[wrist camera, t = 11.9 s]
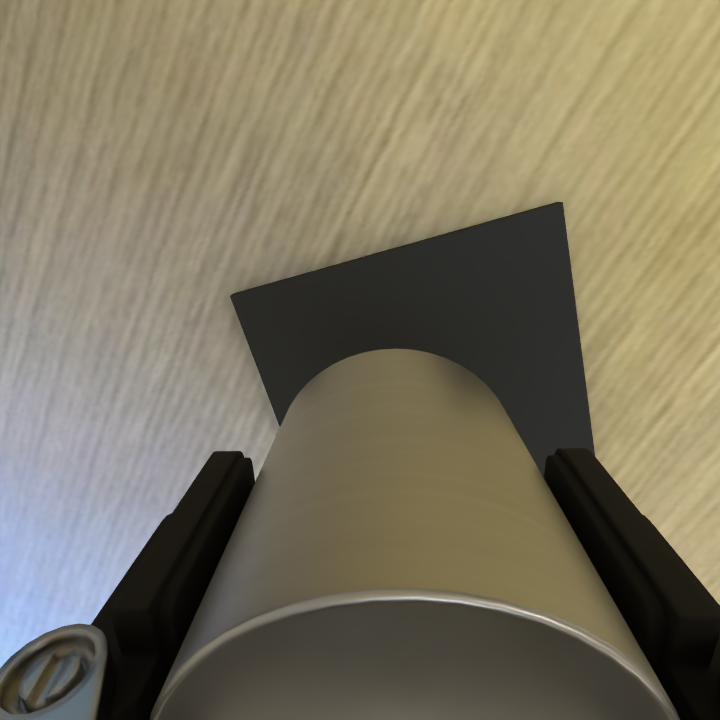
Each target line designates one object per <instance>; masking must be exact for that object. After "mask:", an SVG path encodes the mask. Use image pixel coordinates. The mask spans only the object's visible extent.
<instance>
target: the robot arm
mask: <svg viewBox="0 0 720 720" xmlns="http://www.w3.org/2000/svg"><path fill="white" fill-rule="evenodd" d="M544 480H545V481H546V483H547V485H548V487H549V488H550V490H551V492H552V494H553V495H554V497H555V499H556V501H557V502H558V504H559V506H560V508H561V509H562V511H563V513H564V515H565V516H566V518H567V520H568V522H569V523H570V525H571V527H572V529H573V530H574V532H575V534H576V536H577V537H578V539H579V541H580V543H581V544H582V546H583V548H584V550H585V551H586V553H587V555H588V557H589V559H590V560H591V562H592V564H593V566H594V567H595V569H596V571H597V573H598V574H599V576H600V578H601V580H602V581H603V583H604V585H605V587H606V588H607V590H608V592H609V594H610V595H611V597H612V599H613V601H614V602H615V604H616V606H617V608H618V609H619V611H620V613H621V615H622V616H623V618H624V620H625V622H626V623H627V625H628V627H629V629H630V630H631V632H632V634H633V636H634V637H635V639H636V641H637V643H638V645H639V646H640V648H641V650H642V652H643V653H644V655H645V657H646V659H647V660H648V662H649V664H650V666H651V667H652V669H653V671H654V673H655V674H656V676H657V678H658V680H659V681H660V683H661V685H662V687H663V688H664V690H665V692H666V694H667V695H668V697H669V699H670V701H671V702H672V704H673V706H674V708H675V709H676V711H677V713H678V716H679V718H680V720H720V605H719V604H718V603H717V602H716V600H715V599H714V598H713V597H712V596H711V594H710V593H709V592H708V591H707V590H706V588H705V587H704V586H703V585H702V583H701V582H700V581H699V580H698V579H697V577H696V576H695V575H694V574H693V572H692V571H691V570H690V569H689V568H688V566H687V565H686V564H685V563H684V562H683V560H682V559H681V558H680V557H679V555H678V554H677V553H676V552H675V551H674V549H673V548H672V547H671V546H670V545H669V543H668V542H667V541H666V540H665V538H664V537H663V536H662V535H661V534H660V532H659V531H658V530H657V529H656V527H655V526H654V525H653V524H652V523H651V521H650V520H649V519H647V518H646V517H645V516H644V515H642V514H641V513H640V512H639V510H638V509H637V508H636V507H635V505H634V504H633V503H632V502H631V500H630V499H629V498H628V497H627V496H626V494H625V493H624V492H623V491H622V489H621V488H620V487H619V486H618V484H617V483H616V482H615V481H614V480H613V478H612V477H611V476H610V475H609V473H608V472H607V471H606V470H605V468H604V467H603V466H602V465H601V464H600V462H599V461H598V460H597V459H596V457H595V456H594V455H593V454H592V452H591V451H590V450H589V449H587V448H558V449H557V450H556V451H555V454H554V455H549V456H547V458H546V462H545V471H544ZM254 484H255V478H254V471H253V464H252V460H251V459H250V458H244V455H243V453H242V452H241V451H216V452H213V453H212V455H211V456H210V458H209V459H208V461H207V462H206V464H205V465H204V467H203V468H202V470H201V471H200V472H199V474H198V475H197V477H196V478H195V480H194V481H193V483H192V484H191V486H190V487H189V489H188V490H187V492H186V493H185V495H184V496H183V498H182V499H181V501H180V502H179V504H178V505H177V507H176V508H175V510H174V511H173V513H172V514H169V515H167V516H166V517H165V518H164V519H163V520H162V522H161V523H160V525H159V526H158V528H157V529H156V530H155V532H154V533H153V535H152V536H151V538H150V539H149V541H148V542H147V544H146V545H145V546H144V548H143V549H142V551H141V552H140V554H139V555H138V557H137V558H136V560H135V561H134V563H133V564H132V565H131V567H130V568H129V570H128V571H127V573H126V574H125V576H124V577H123V579H122V580H121V581H120V583H119V584H118V586H117V587H116V589H115V590H114V592H113V593H112V595H111V596H110V598H109V599H108V600H107V602H106V603H105V605H104V606H103V608H102V609H101V611H100V612H99V614H98V615H97V616H96V618H95V619H94V621H93V622H92V624H91V625H87V624H74V625H68V626H63V627H60V628H57V629H55V630H52V631H50V632H47V633H45V634H43V635H41V636H40V637H38V638H36V639H34V640H33V641H31V642H29V643H28V644H26V645H25V646H24V647H22V648H21V649H20V650H19V651H18V652H16V653H15V654H14V655H13V656H11V657H10V658H9V659H8V660H7V662H6V663H5V664H4V665H3V666H2V667H1V668H0V720H150V716H151V712H152V710H153V708H154V705H155V703H156V701H157V699H158V697H159V694H160V692H161V690H162V688H163V685H164V683H165V681H166V679H167V677H168V674H169V672H170V670H171V668H172V666H173V663H174V661H175V659H176V657H177V654H178V652H179V650H180V648H181V646H182V643H183V641H184V639H185V637H186V635H187V632H188V630H189V628H190V626H191V623H192V621H193V619H194V617H195V615H196V612H197V610H198V608H199V606H200V604H201V601H202V599H203V597H204V595H205V592H206V590H207V588H208V586H209V584H210V581H211V579H212V577H213V575H214V573H215V570H216V568H217V566H218V564H219V561H220V559H221V557H222V555H223V553H224V550H225V548H226V546H227V544H228V542H229V539H230V537H231V535H232V533H233V530H234V528H235V526H236V524H237V522H238V519H239V517H240V515H241V513H242V511H243V508H244V506H245V504H246V502H247V499H248V497H249V495H250V493H251V491H252V488H253V486H254Z"/></svg>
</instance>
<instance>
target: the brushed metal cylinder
mask: <svg viewBox="0 0 720 720" xmlns="http://www.w3.org/2000/svg"><path fill="white" fill-rule="evenodd" d="M150 720H680V718H679V716H678V713H677V711H676V709H675V708H674V706H673V704H672V702H671V701H670V699H669V697H668V695H667V694H666V692H665V690H664V688H663V687H662V685H661V683H660V681H659V680H658V678H657V676H656V674H655V673H654V671H653V669H652V667H651V666H650V664H649V662H648V660H647V659H646V657H645V655H644V653H643V652H642V650H641V648H640V646H639V645H638V643H637V641H636V639H635V637H634V636H633V634H632V632H631V630H630V629H629V627H628V625H627V623H626V622H625V620H624V618H623V616H622V615H621V613H620V611H619V609H618V608H617V606H616V604H615V602H614V601H613V599H612V597H611V595H610V594H609V592H608V590H607V588H606V587H605V585H604V583H603V581H602V580H601V578H600V576H599V574H598V573H597V571H596V569H595V567H594V566H593V564H592V562H591V560H590V559H589V557H588V555H587V553H586V551H585V550H584V548H583V546H582V544H581V543H580V541H579V539H578V537H577V536H576V534H575V532H574V530H573V529H572V527H571V525H570V523H569V522H568V520H567V518H566V516H565V515H564V513H563V511H562V509H561V508H560V506H559V504H558V502H557V501H556V499H555V497H554V495H553V494H552V492H551V490H550V488H549V487H548V485H547V483H546V481H545V480H544V478H543V476H542V474H541V473H540V471H539V469H538V467H537V465H536V464H535V462H534V460H533V458H532V457H531V455H530V453H529V451H528V450H527V448H526V446H525V444H524V443H523V441H522V439H521V437H520V436H519V434H518V432H517V430H516V429H515V427H514V425H513V423H512V422H511V420H510V418H509V416H508V415H507V413H506V411H505V409H504V408H503V406H502V405H501V403H500V401H499V400H498V398H497V397H496V395H495V394H494V393H493V392H492V391H491V390H490V388H489V387H488V386H487V385H486V384H485V383H484V382H483V381H482V380H480V379H479V378H478V377H477V376H476V375H475V374H473V373H472V372H470V371H469V370H467V369H466V368H464V367H463V366H461V365H459V364H457V363H455V362H453V361H451V360H449V359H447V358H444V357H441V356H438V355H435V354H432V353H428V352H423V351H417V350H410V349H382V350H375V351H369V352H364V353H360V354H357V355H354V356H351V357H348V358H346V359H344V360H341V361H339V362H337V363H335V364H333V365H331V366H330V367H328V368H327V369H325V370H323V371H322V372H320V373H319V374H318V375H317V376H315V377H314V378H313V379H312V380H311V381H309V382H308V383H307V384H306V385H305V387H304V388H303V389H302V390H301V391H300V392H299V393H298V395H297V396H296V398H295V399H294V401H293V402H292V404H291V405H290V407H289V409H288V411H287V413H286V415H285V418H284V420H283V422H282V424H281V426H280V429H279V431H278V433H277V435H276V438H275V440H274V442H273V444H272V446H271V449H270V451H269V453H268V455H267V457H266V460H265V462H264V464H263V466H262V469H261V471H260V473H259V475H258V477H257V480H256V482H255V484H254V486H253V488H252V491H251V493H250V495H249V497H248V499H247V502H246V504H245V506H244V508H243V511H242V513H241V515H240V517H239V519H238V522H237V524H236V526H235V528H234V530H233V533H232V535H231V537H230V539H229V542H228V544H227V546H226V548H225V550H224V553H223V555H222V557H221V559H220V561H219V564H218V566H217V568H216V570H215V573H214V575H213V577H212V579H211V581H210V584H209V586H208V588H207V590H206V592H205V595H204V597H203V599H202V601H201V604H200V606H199V608H198V610H197V612H196V615H195V617H194V619H193V621H192V623H191V626H190V628H189V630H188V632H187V635H186V637H185V639H184V641H183V643H182V646H181V648H180V650H179V652H178V654H177V657H176V659H175V661H174V663H173V666H172V668H171V670H170V672H169V674H168V677H167V679H166V681H165V683H164V685H163V688H162V690H161V692H160V694H159V697H158V699H157V701H156V703H155V705H154V708H153V710H152V712H151V716H150Z"/></svg>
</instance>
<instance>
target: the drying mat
mask: <svg viewBox="0 0 720 720" xmlns="http://www.w3.org/2000/svg"><path fill="white" fill-rule="evenodd" d="M230 297H231V300H232V302H233V305H234V308H235V310H236V313H237V315H238V318H239V321H240V323H241V326H242V329H243V331H244V334H245V336H246V339H247V342H248V344H249V347H250V350H251V352H252V355H253V357H254V360H255V363H256V365H257V368H258V371H259V373H260V376H261V378H262V381H263V384H264V386H265V389H266V391H267V394H268V397H269V399H270V402H271V405H272V407H273V410H274V412H275V415H276V418H277V420H278V423H279V426H281V424H282V422H283V420H284V418H285V415H286V413H287V411H288V409H289V407H290V405H291V404H292V402H293V401H294V399H295V398H296V396H297V395H298V393H299V392H300V391H301V390H302V389H303V388H304V387H305V385H306V384H307V383H308V382H309V381H311V380H312V379H313V378H314V377H315V376H317V375H318V374H319V373H320V372H322V371H323V370H325V369H327V368H328V367H330V366H331V365H333V364H335V363H337V362H339V361H341V360H344V359H346V358H348V357H351V356H354V355H357V354H360V353H364V352H369V351H375V350H382V349H410V350H417V351H423V352H428V353H432V354H435V355H438V356H441V357H444V358H447V359H449V360H451V361H453V362H455V363H457V364H459V365H461V366H463V367H464V368H466V369H467V370H469V371H470V372H472V373H473V374H475V375H476V376H477V377H478V378H479V379H480V380H482V381H483V382H484V383H485V384H486V385H487V386H488V387H489V388H490V390H491V391H492V392H493V393H494V394H495V395H496V397H497V398H498V400H499V401H500V403H501V405H502V406H503V408H504V409H505V411H506V413H507V415H508V416H509V418H510V420H511V422H512V423H513V425H514V427H515V429H516V430H517V432H518V434H519V436H520V437H521V439H522V441H523V443H524V444H525V446H526V448H527V450H528V451H529V453H530V455H531V457H532V458H533V460H534V462H535V464H536V465H537V467H538V469H539V471H540V473H541V474H542V476H543V478H544V471H545V462H546V458H547V456H549V455H554V454H555V451H556V450H557V449H558V448H587V449H589V450H590V451H591V452H592V454H593V455H594V456H595V453H594V445H593V437H592V429H591V421H590V413H589V406H588V398H587V390H586V382H585V374H584V366H583V358H582V351H581V343H580V335H579V327H578V319H577V311H576V303H575V296H574V288H573V280H572V272H571V264H570V256H569V249H568V241H567V233H566V225H565V217H564V209H563V203H562V202H556V203H552V204H549V205H545V206H542V207H538V208H535V209H531V210H528V211H524V212H521V213H517V214H513V215H510V216H506V217H503V218H499V219H496V220H492V221H489V222H485V223H482V224H478V225H474V226H471V227H467V228H464V229H460V230H457V231H453V232H450V233H446V234H443V235H439V236H436V237H432V238H428V239H425V240H421V241H418V242H414V243H411V244H407V245H404V246H400V247H397V248H393V249H390V250H386V251H382V252H379V253H375V254H372V255H368V256H365V257H361V258H358V259H354V260H351V261H347V262H344V263H340V264H336V265H333V266H329V267H326V268H322V269H319V270H315V271H312V272H308V273H305V274H301V275H298V276H294V277H290V278H287V279H283V280H280V281H276V282H273V283H269V284H266V285H262V286H259V287H255V288H252V289H248V290H244V291H241V292H237V293H234V294H232V295H231V296H230Z"/></svg>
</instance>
